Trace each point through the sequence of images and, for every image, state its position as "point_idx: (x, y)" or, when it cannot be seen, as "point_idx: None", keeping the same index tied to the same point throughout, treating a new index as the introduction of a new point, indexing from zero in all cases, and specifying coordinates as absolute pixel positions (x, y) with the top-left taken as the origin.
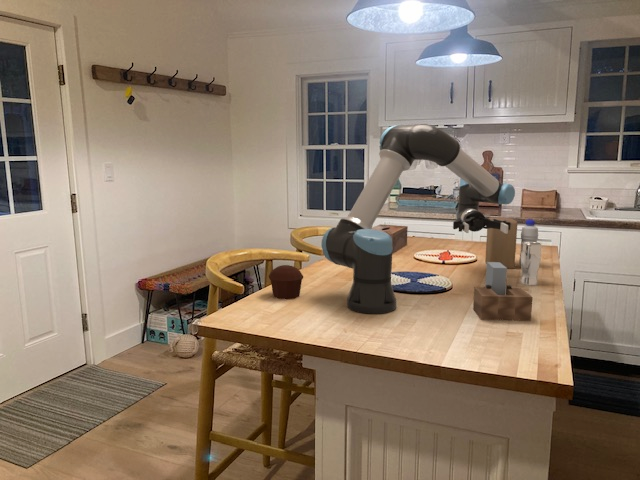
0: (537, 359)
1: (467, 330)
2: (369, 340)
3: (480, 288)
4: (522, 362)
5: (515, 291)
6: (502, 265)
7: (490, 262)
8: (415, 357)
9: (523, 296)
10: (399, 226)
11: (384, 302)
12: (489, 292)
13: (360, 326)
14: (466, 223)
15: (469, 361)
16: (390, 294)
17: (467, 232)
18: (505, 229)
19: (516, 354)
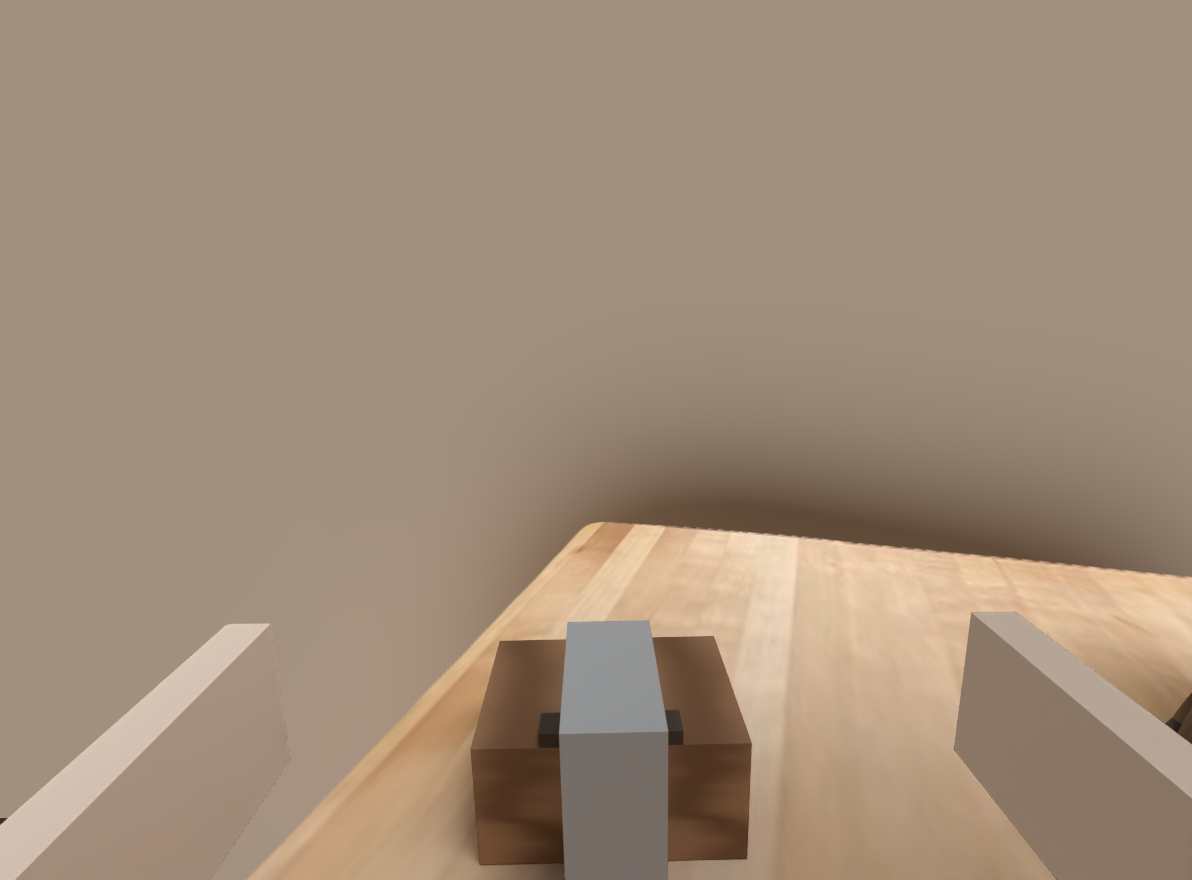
0: (606, 560)
1: (759, 651)
2: (1007, 590)
3: (716, 721)
4: (641, 552)
5: (538, 696)
6: (573, 661)
7: (639, 723)
8: (856, 551)
9: (534, 645)
10: None
11: (1177, 717)
12: (675, 674)
13: (1117, 649)
14: (1154, 757)
15: (745, 548)
16: (1187, 716)
17: (975, 740)
18: (272, 707)
19: (644, 570)
